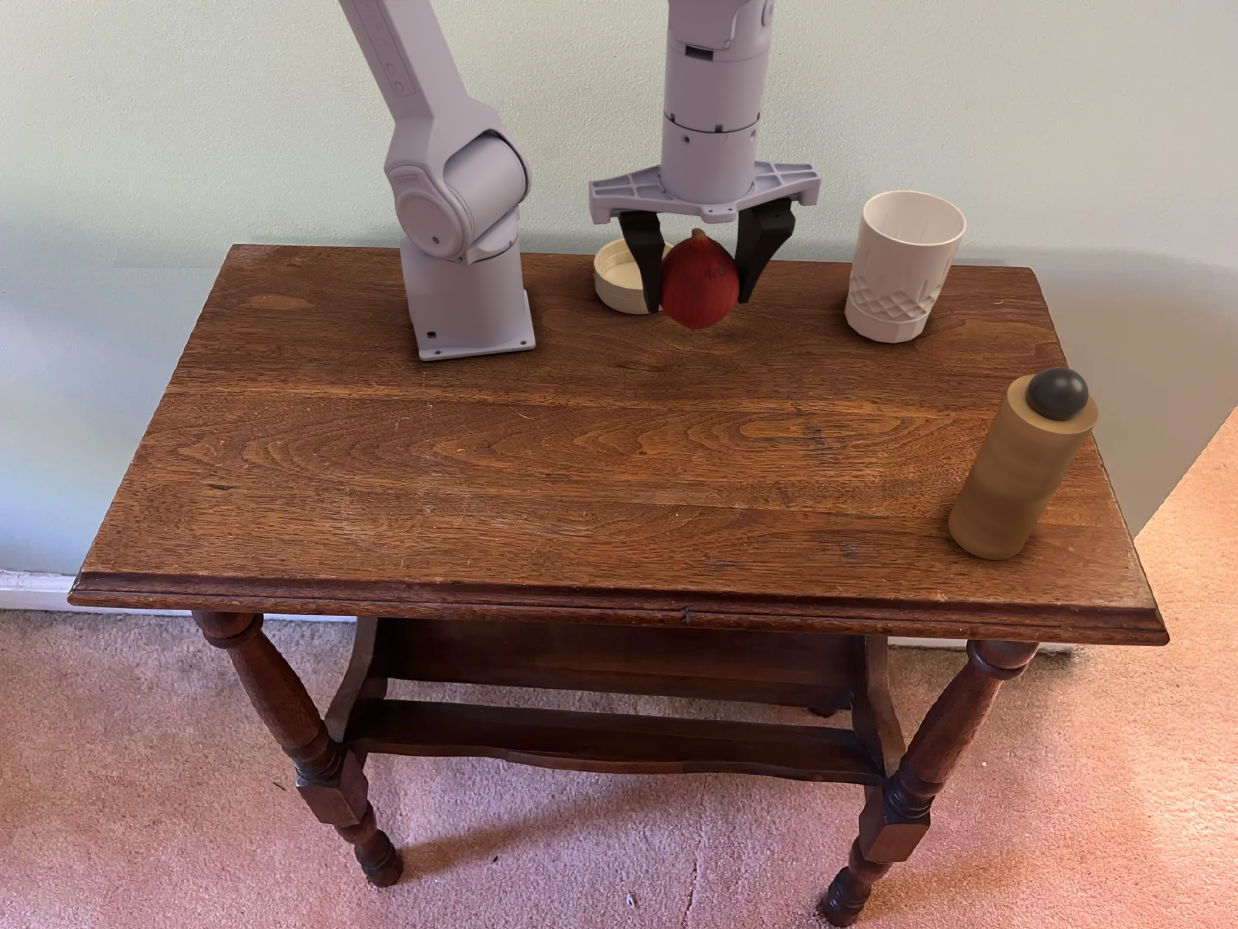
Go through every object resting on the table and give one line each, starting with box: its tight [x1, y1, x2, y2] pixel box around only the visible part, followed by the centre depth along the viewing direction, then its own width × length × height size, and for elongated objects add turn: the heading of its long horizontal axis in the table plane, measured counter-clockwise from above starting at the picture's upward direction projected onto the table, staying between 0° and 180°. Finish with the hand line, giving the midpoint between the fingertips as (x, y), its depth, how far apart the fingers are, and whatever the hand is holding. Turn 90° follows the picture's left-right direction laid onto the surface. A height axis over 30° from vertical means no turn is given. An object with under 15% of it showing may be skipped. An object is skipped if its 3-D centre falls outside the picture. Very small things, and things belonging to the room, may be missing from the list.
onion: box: [660, 227, 739, 330], centre depth 59 cm, size 6×6×8 cm
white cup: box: [844, 189, 968, 344], centre depth 70 cm, size 8×8×10 cm
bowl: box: [593, 237, 675, 315], centre depth 75 cm, size 8×8×3 cm
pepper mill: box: [947, 366, 1099, 561], centre depth 53 cm, size 5×5×14 cm
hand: (695, 299), depth 60 cm, fingers closed on onion, 6 cm apart
